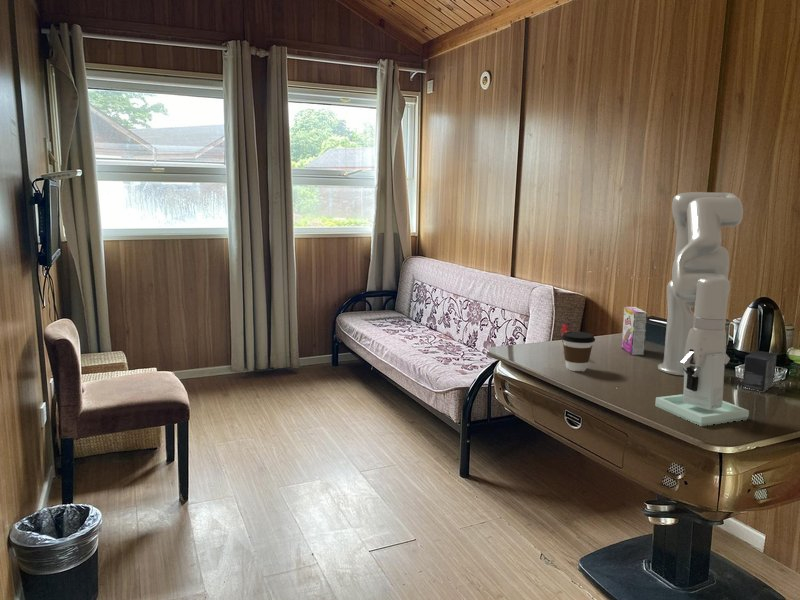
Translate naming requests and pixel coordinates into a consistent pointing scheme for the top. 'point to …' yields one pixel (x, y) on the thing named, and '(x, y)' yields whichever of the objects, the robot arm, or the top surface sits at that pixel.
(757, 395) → the top surface
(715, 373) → the skincare box
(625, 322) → the candy bar box
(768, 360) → the small box
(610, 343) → the top surface
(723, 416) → the tray
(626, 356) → the top surface
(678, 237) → the robot arm
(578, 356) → the coffee cup
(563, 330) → the decorative bird figurine
